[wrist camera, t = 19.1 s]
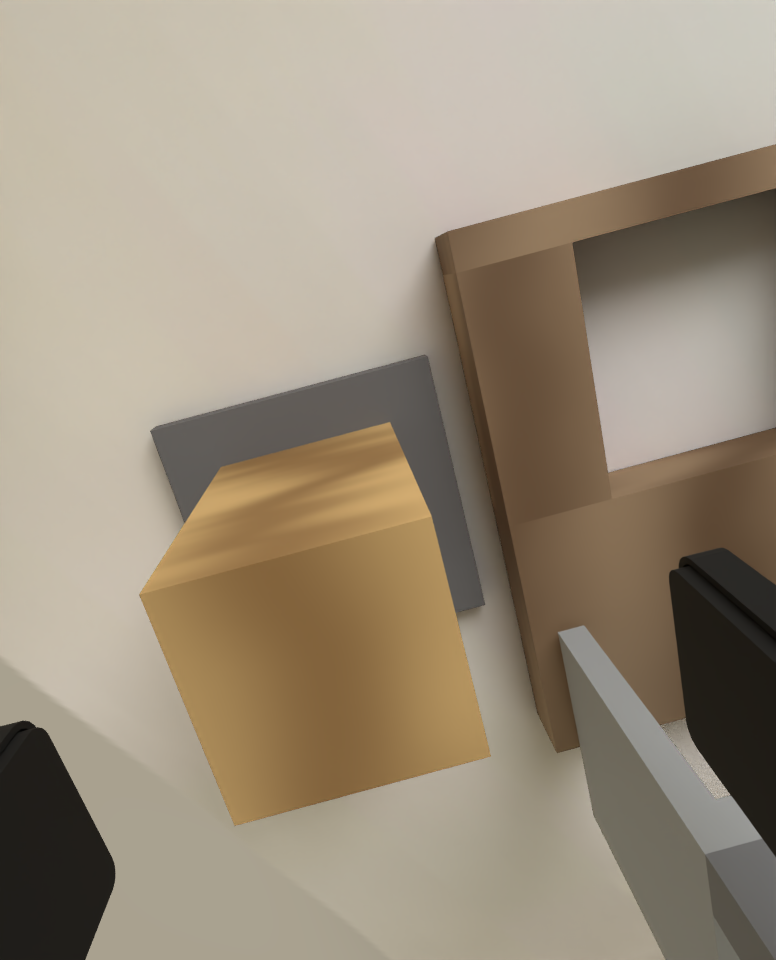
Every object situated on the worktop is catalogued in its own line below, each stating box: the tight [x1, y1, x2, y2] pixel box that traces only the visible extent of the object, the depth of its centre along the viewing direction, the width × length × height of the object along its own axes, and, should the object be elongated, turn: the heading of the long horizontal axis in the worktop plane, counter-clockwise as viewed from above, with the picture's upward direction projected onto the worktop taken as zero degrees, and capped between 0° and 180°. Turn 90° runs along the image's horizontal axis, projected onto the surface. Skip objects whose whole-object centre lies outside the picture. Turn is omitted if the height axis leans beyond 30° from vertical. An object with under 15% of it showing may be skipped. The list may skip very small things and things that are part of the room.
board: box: [435, 144, 776, 753], centre depth 19 cm, size 13×16×2 cm
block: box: [139, 422, 491, 826], centre depth 15 cm, size 5×5×8 cm
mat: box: [150, 355, 485, 613], centre depth 19 cm, size 8×8×1 cm
